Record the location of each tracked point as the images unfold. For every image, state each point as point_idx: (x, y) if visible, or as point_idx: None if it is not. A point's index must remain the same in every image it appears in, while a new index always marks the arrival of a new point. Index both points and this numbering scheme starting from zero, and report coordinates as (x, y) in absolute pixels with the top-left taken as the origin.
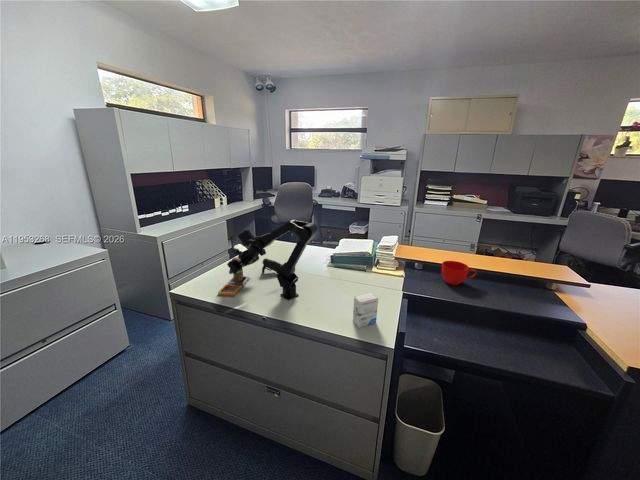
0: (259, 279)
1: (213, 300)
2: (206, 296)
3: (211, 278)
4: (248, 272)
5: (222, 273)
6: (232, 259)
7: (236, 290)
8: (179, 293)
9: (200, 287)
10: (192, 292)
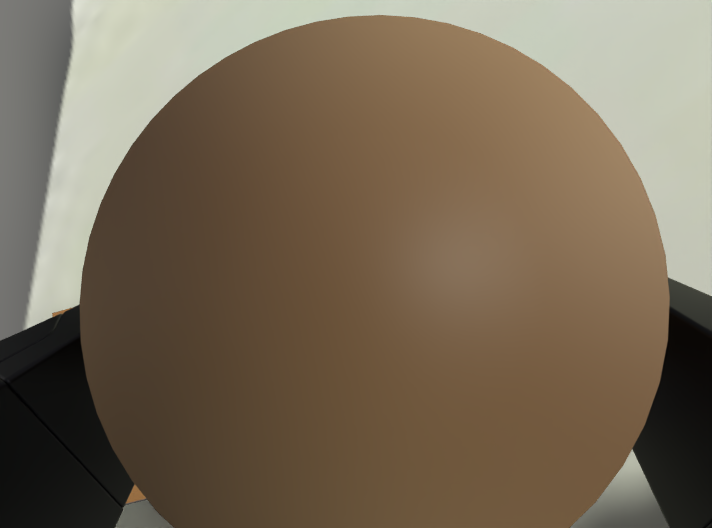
0: (609, 501)
1: (38, 320)
2: (81, 214)
3: (370, 2)
4: (698, 232)
5: (510, 5)
6: (207, 107)
7: (132, 494)
8: (73, 3)
9: (195, 55)
10: (108, 68)
